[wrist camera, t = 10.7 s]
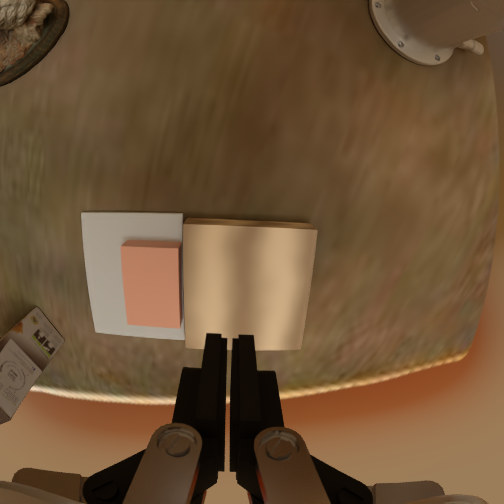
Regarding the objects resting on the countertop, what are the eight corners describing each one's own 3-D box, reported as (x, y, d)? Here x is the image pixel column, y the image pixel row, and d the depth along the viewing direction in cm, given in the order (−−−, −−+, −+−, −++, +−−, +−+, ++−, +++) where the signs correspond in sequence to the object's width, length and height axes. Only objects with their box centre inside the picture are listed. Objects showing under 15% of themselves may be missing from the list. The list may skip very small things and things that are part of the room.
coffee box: (36, 303, 34) (-31, 372, 18) (66, 340, 36) (12, 420, 20) (8, 330, 35) (-49, 393, 19) (35, 362, 37) (-14, 432, 21)
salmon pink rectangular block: (181, 241, 32) (178, 248, 30) (182, 317, 35) (180, 328, 33) (127, 239, 32) (120, 246, 29) (132, 314, 34) (127, 324, 32)
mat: (183, 213, 32) (182, 214, 31) (185, 337, 36) (184, 339, 36) (83, 211, 31) (81, 212, 30) (97, 329, 35) (95, 332, 35)
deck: (310, 223, 33) (317, 229, 30) (295, 335, 37) (300, 349, 35) (187, 217, 32) (183, 224, 29) (188, 334, 36) (185, 348, 33)
